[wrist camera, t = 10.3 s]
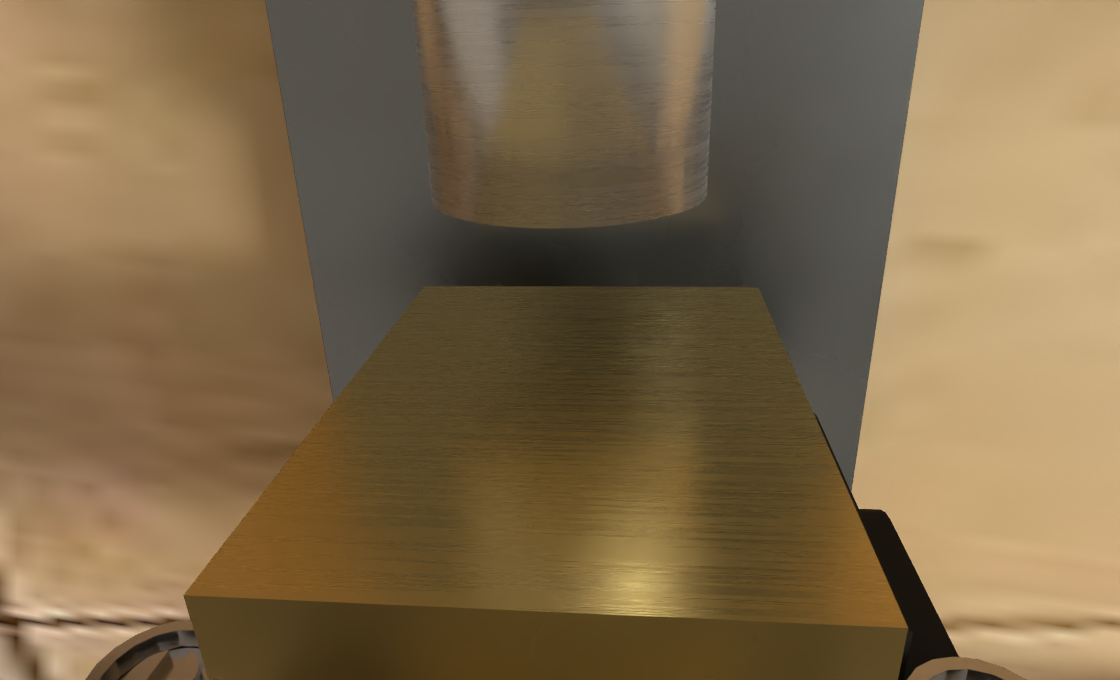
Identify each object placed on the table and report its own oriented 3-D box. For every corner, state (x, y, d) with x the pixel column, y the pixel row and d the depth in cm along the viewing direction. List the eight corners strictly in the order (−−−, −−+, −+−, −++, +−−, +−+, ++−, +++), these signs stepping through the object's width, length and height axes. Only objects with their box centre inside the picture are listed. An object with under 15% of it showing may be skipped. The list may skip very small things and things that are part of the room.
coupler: (424, 286, 10) (103, 696, 4) (758, 286, 10) (962, 750, 4) (460, 621, 13) (291, 1202, 6) (731, 633, 12) (826, 1269, 6)
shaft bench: (789, 807, 18) (850, 1122, 13) (416, 783, 19) (336, 1069, 14) (958, -429, 9) (1375, -994, 4) (237, -368, 10) (-183, -766, 5)
